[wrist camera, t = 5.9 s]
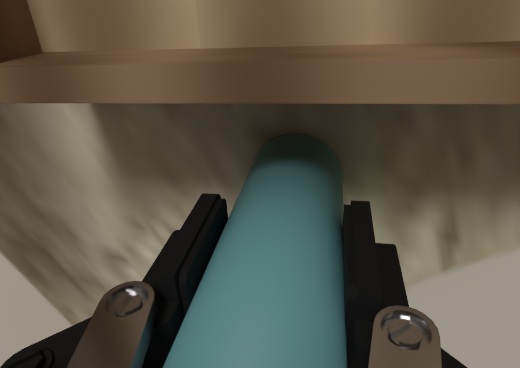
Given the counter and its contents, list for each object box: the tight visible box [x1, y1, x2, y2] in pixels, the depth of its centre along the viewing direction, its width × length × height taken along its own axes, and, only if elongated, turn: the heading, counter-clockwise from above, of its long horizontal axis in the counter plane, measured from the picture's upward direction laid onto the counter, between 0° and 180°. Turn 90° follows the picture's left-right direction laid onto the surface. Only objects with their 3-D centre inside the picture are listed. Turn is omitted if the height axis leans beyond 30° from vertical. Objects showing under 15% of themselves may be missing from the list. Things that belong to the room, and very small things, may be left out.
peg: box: [163, 134, 347, 368], centre depth 11 cm, size 4×4×12 cm
